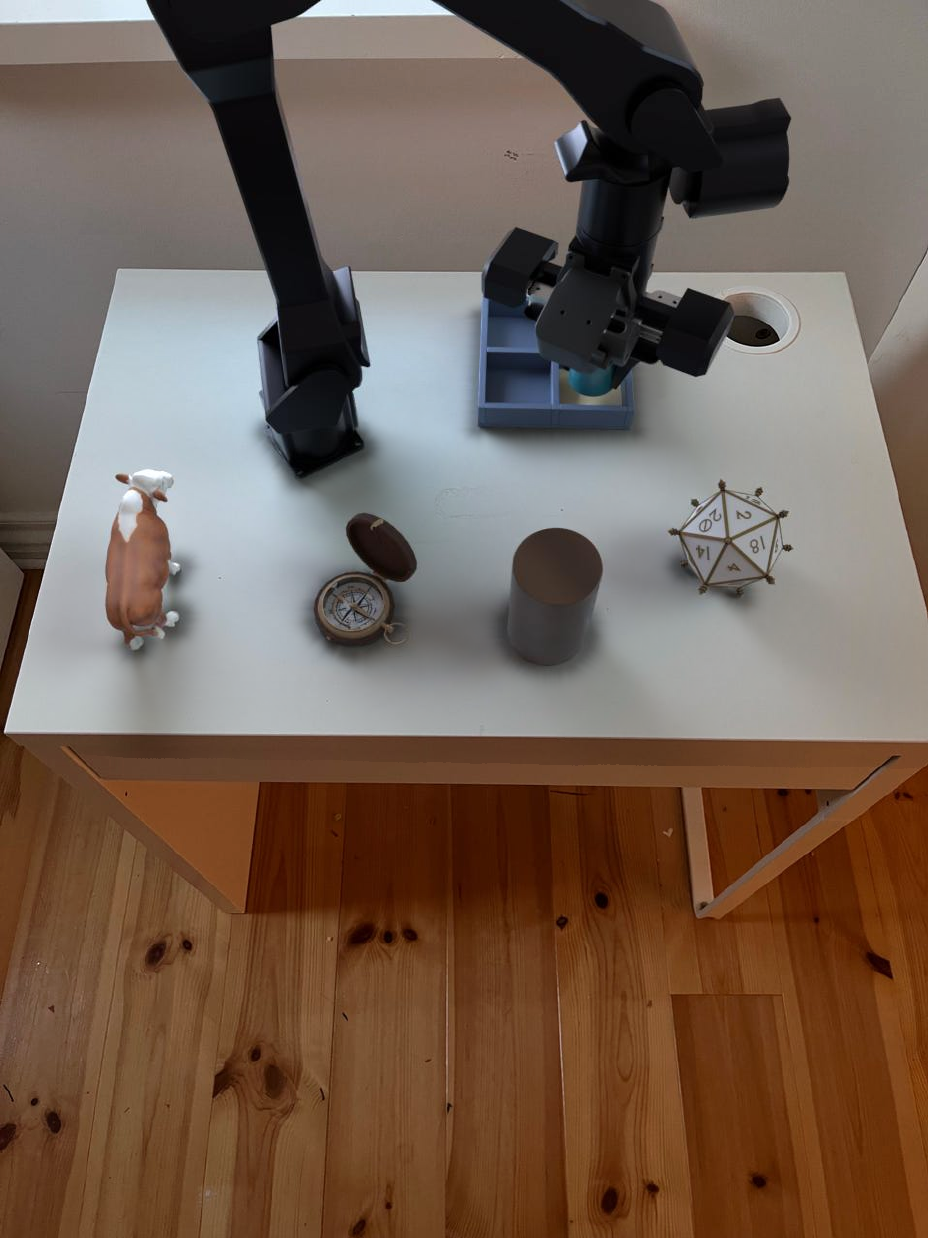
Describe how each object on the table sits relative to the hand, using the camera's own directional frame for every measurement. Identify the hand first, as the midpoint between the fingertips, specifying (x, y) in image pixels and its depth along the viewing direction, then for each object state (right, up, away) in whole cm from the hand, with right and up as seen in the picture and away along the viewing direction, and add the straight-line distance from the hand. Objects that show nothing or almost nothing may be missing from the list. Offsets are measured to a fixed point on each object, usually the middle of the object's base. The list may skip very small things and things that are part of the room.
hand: (592, 376), depth 76 cm
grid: (-3, +2, +4) cm, 5 cm away
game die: (+9, -17, -5) cm, 20 cm away
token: (0, 0, 0) cm, 0 cm away
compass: (-18, -20, -7) cm, 28 cm away
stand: (-5, -21, -8) cm, 23 cm away
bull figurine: (-35, -18, -6) cm, 39 cm away
